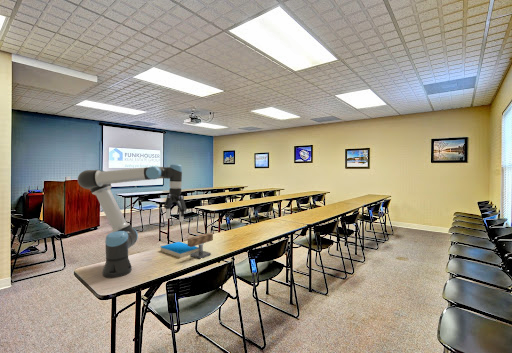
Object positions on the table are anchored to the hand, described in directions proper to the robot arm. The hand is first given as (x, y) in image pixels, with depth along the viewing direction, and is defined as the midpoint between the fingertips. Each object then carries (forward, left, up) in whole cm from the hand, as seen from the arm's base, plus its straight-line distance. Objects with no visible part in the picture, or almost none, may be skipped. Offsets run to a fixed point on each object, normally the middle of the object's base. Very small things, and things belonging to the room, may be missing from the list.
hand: (174, 219), depth 166 cm
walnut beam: (+18, -5, -19) cm, 27 cm away
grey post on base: (+18, -5, -28) cm, 34 cm away
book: (+15, +15, -29) cm, 36 cm away
